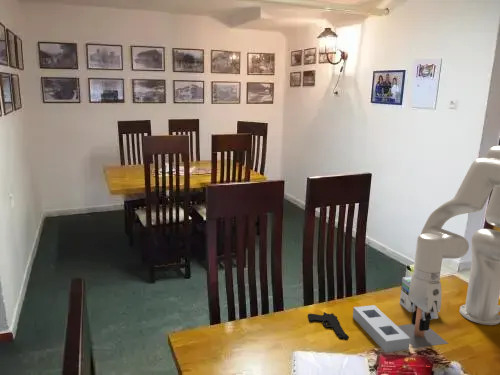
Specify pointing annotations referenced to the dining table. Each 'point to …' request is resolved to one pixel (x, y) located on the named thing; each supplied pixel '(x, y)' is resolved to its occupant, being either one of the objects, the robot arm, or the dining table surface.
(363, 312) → the socket block
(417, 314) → the dowel
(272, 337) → the dining table surface
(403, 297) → the light bulb box
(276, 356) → the dining table surface
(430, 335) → the mat
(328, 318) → the handgun
